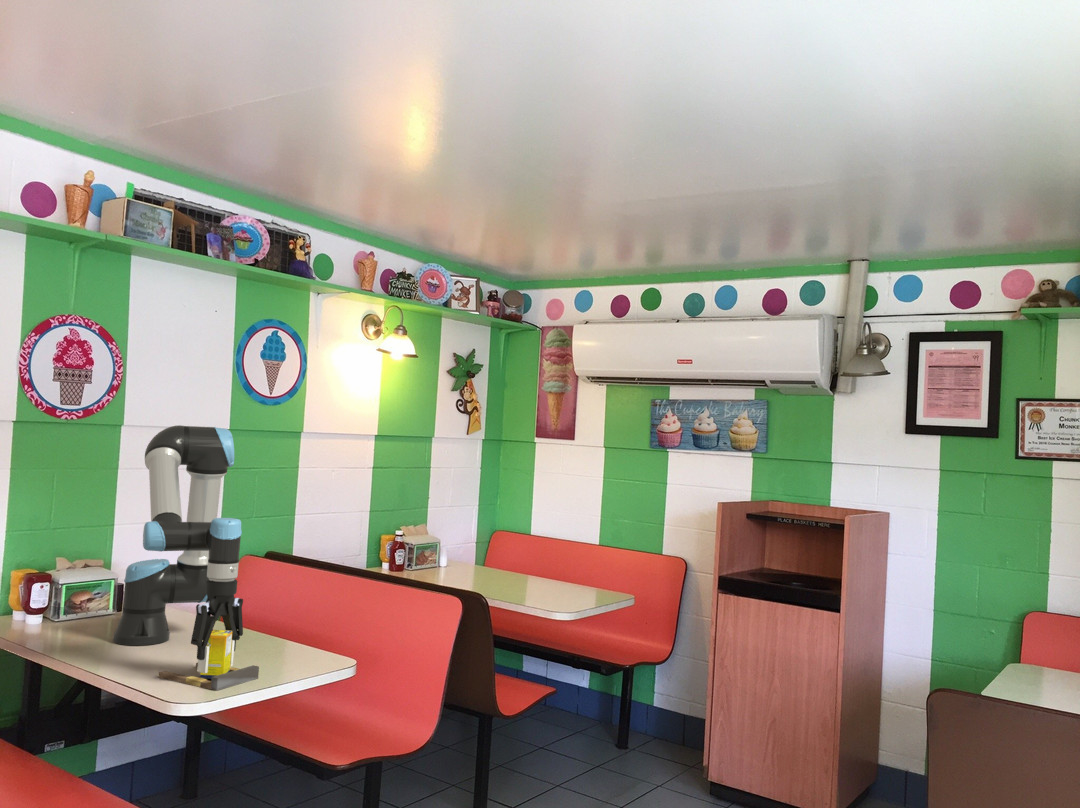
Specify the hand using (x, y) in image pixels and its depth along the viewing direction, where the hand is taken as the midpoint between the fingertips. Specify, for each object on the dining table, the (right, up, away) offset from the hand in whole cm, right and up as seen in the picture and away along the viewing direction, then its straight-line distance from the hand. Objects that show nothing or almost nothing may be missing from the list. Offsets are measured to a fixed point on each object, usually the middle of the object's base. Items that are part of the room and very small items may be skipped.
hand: (215, 668), depth 218 cm
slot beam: (-3, -3, +1) cm, 4 cm away
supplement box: (0, -2, 0) cm, 2 cm away
